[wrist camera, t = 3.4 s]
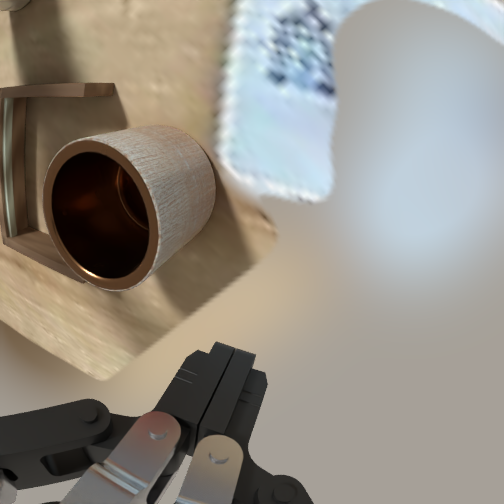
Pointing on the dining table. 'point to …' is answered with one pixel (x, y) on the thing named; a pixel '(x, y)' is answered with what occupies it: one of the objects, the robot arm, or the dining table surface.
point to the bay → (13, 170)
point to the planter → (126, 202)
